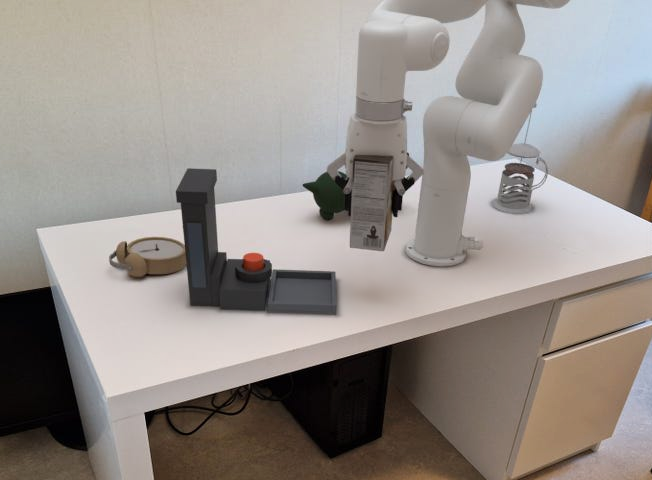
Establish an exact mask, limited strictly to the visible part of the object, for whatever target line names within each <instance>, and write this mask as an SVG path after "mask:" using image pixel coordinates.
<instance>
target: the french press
mask: <svg viewBox="0 0 652 480" xmlns="http://www.w3.org/2000/svg"><path fill="white" fill-rule="evenodd" d="M536 108H537V102H536V103H535V105H534V107H533V109H536ZM532 112H533V110H532V111H531V112H530V114H529V117H528V118H529V119H528V124H527V128H526V133H525V138H524V142H520V143H519V142H518V143H513V144H512V146H511V148H510V149H509V151H508V152H507V153H506V154H507V155H510V156H512V157H516V158H520V162H509V163H506V164H505V165H504V169H503V170H502V172H501V177H500V182H499V188H498V193H497V198H496V199H495V200H493V201H492V203H491V205H492V206H493V208H495V209H496V210H498V211H501V212H504V213H508V214H519V215H521V214H527V213H529V212H531V211H532V209H533V207H532V205H530V204H531V203H530V202H531V198H532V194H533V191H534V190H537V189H539V188H540V187H542V186H543V185H544V184H545V182H546V180H547V178H548V175H549V167H548V164H547V163H546V161H545V160H544V159H543V158H542V157H540V155H541V151H540V150H539V149H538V148H537V147H536V146H534V145H532V144H531V143H530V144H529V143H527V142H526V141H527V137H528V132H529V127H530V122H531V118H532V117H531V116H532ZM534 158H536V160H535V161H536V162H535V164H536V165H537V166H538V165H539V162H542V163H543V164H544V165H545V173H544V176H543V178H542V179H541V181H540V182H539V183H537V184H534V181H535V173H534V172H535V168H534V167H533V166H532V165H529V164H526V163H522V161H523V159H534ZM516 174H517V175H516ZM513 175H514V176H513ZM521 175H524V176H525V177H523V176H521ZM519 185H521V186H519ZM507 187H508V188H507ZM519 190H520V191H519Z"/></svg>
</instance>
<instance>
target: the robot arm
mask: <svg viewBox="0 0 652 480" xmlns="http://www.w3.org/2000/svg"><path fill="white" fill-rule="evenodd" d="M570 1H571V0H382V1H381V2H380V3H379V4H378V5H377V6H376V7H375V8H374V9H373V10H372V12H371V13H370V14H369V16H368V17H367V19H366V21H365V23H364V24H362V25H361V26H360V29H359V32H358V44H357V63H356V66H357V67H356V91H355V93H356V94H355V109H354V110H355V111H354V113H351V114H350V117H349V121H348V125H347V132H346V141H345V151H344V153H342V154H341V155H340V156H339V157H337V158H336V159H335V160H333V161H332V162H330V163H329V164H328V165H327V166H326V172H328V173H329V175H330V176H331V177H332V178H333V179H334V181H335V183H336V184H337V185H338V186H339V187H340V188H341V189H342V190H343V191H344V193H345V198H344V209H348V212H347V216H348V217H351V201H352V176H353V158H354V156H355V155H379V156H393V158H394V162H393V179H392V180H393V183H394V185H395V190H394V193H393V205H392V213H393V215H392V217H394V218H398V215H399V211H400V212H401V211H402V209H403V199H404V198H403V197H404V195H405V194H406V192H407V191H408V190H409V189H410V188H412V187H413V186H414V185H415V183H416V182H417V181H418V180H420V179H421V180H420V181H421V183H420V191H419V199H418V200H419V201H418V208H417V216H416V223H415V233H414V239H411V240H409V241H408V242H407V244H406V245H405V246H406V247H405V253H406V255H407V256H408V257H409V258H410V259H412V260H413V261H415V262H417V263H420V264H421V265H422V264H423V265H426V266H431V267H452V266H455V265H459V264H461V263H462V262H464V261H465V259H466V255H467V252H468V250H473V251H482V250H483V249H484V241H483V240H476V237H475V236H465V235H463V229H464V222H465V217H466V216H465V215H466V211H467V210H466V209H467V203H468V197H469V190H470V186H471V180H472V179H471V178H472V172H471V165H470V161H469V159H468V157H471V158H475V159H479V160H482V161H488V162H497V161H499V160H501V159H502V158H504V157H505V156H506V155H507V154H508V153H507V152H508V151H509V149H510V148H511V146H512V145H513V144H515V141H516V140H517V137H518V135H519V134H520V132H521V130H522V128H523V127H524V125H525V123H526V122H527V120H528V118H529V117H530V113H531V111H532V112H533V109H534V108H533V107H534V105H535V103H536V104H537V101H538V98H539V97H540V94H541V90H542V86H543V81H544V80H543V79H544V72H543V68H542V66H541V64H540V63H539V61H538V60H537V59H535V58H533V57H531V56H527V55H522V54H520V53H521V50H522V49H523V47H524V44H525V42H526V31H525V30H526V29H525V26H524V24H523V20H522V19H521V16H520V14H519V11H518V7H517V5H520V6H528V7H536V8H543V9H550V10H551V9H553V10H556V9H561V8H563V7H565V6H566V5H567V4H568V3H569V2H570ZM483 7H484V22H483V26H482V28H481V30H480V32H479V34H478V35H477V38H476V39H475V41H474V43H473V45H472V47H471V48H470V49H469V52H468V53H467V55H466V57H465V59H464V61H463V62H462V64H461V66H460V68H459V70H458V72H457V75H456V77H455V85H454V86H455V90H456V93H457V94H458V95H459V96H455V95H445V96H440V97H437V98H435V99H433V100H432V101H431V102H430V103H429V104H428V106H427V107H426V109H425V110H424V111H425V112H424V113H423V114H424V115H423V119H422V136H423V137H422V138H423V164H422V166H420V165H419V164H418V163H417V162H416V161H415V160H414V159H413V158H412V157H410V155H409V156H408V155H407V152H408V126H407V125H408V124H407V117H406V115H404V114H405V112H412V111H413V101H408V100H406V99H405V98H404V97H405V88H406V74H407V72H425V71H430V70H433V69H435V68H436V67H438V66H439V65H440V64H442V63H443V61H444V60H445V58H446V57H447V54H448V52H449V49H450V42H451V41H450V34H449V30H448V29H447V27H446V26H445V25H444V24H450V23H454V22H459V21H464V20H467V19H470V18H472V17H473V16H475V15H476V14H477V13H478V12H479V11H480V10H481V9H482V8H483ZM406 166H407V167H408V168H407V169H409V170H411V173H410V174H409V175H408V176H406V173H407V169H406ZM342 167H344V169H345V174H346V176H347V178H346V180H345V179H344V178H343V177H342V176H341V175H340V174H339V173H338V171H339V169H341V168H342ZM404 177H405V178H406V179H404V180H403V181H402V180H401V179H403V178H404Z"/></svg>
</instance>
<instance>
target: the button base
mask: <svg viewBox="0 0 652 480" xmlns="http://www.w3.org/2000/svg"><path fill="white" fill-rule="evenodd" d="M263 261H264V268H263V269H261V270H257V271H249V270H246V269H244V265H243V258H227V263H226V267H225V270H224V274H223V277H222V281H221V285H220V288H219V294H220V307H219V309H220V310H221V311H247V312H249V311H252V312H253V311H254V312H266V311H267V305H268V298H269V291H270V284H271V277H272V271H273V264H272V262H271V260H270V259H265V258H263Z"/></svg>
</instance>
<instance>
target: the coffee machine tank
mask: <svg viewBox="0 0 652 480" xmlns="http://www.w3.org/2000/svg"><path fill="white" fill-rule="evenodd" d="M217 181H218V173H217V169H214V168H213V169H212V168H187V169H186V170H185V172H184V175H183V176H182V178H181V180H180V182H179V184H178V186H177V187H176V190H175V196H176V197H175V199H176V203H178V204H180V210H181V222H182V234H183V244H184V245H185V254H186V265H185V266H186V274H187V285H188V295H189V306H190V307H210V308H211V307H213V308H215V307H216V308H220V294H219V288H220V285H221V281H222V277H223V274H224V270H225V267H226V263H227V260H228V256H227V255H228V254H227V252H226V251H219V242H218V226H217V211H216V209H217V208H216V195H215V186H216V184H217Z"/></svg>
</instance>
